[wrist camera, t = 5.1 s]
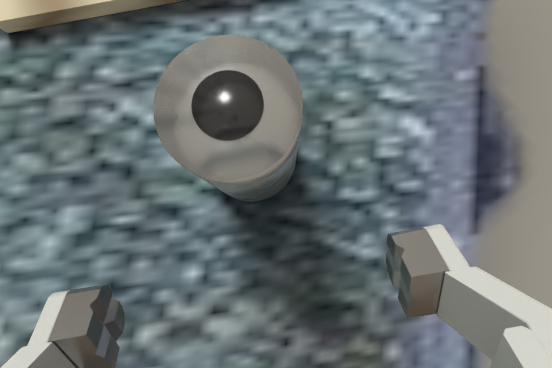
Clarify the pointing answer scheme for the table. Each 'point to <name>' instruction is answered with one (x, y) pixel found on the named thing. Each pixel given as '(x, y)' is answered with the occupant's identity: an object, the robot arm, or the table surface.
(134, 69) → the table surface
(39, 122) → the table surface
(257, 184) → the sleeve
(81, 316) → the robot arm
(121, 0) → the hub board
